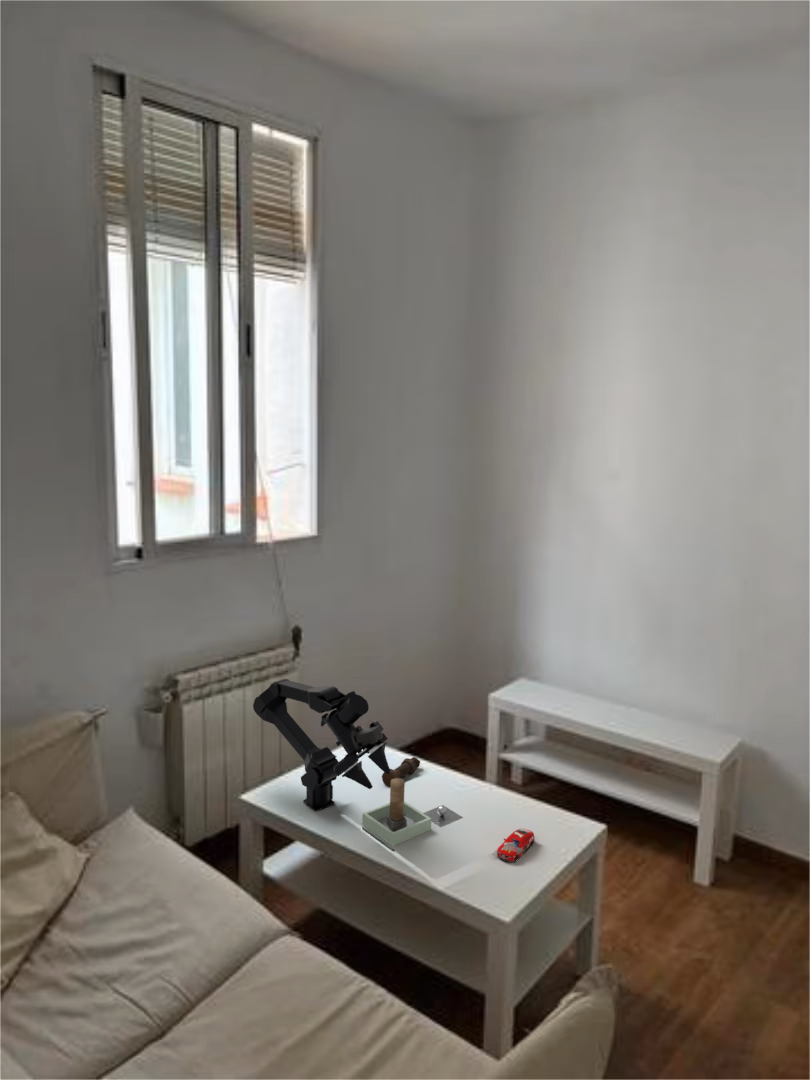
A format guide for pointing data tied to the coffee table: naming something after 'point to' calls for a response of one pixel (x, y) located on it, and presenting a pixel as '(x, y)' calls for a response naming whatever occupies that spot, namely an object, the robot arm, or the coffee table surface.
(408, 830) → the bin
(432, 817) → the square lid with knob
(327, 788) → the robot arm
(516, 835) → the race car
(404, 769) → the bolt
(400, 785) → the brown peg with base
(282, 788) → the coffee table surface
